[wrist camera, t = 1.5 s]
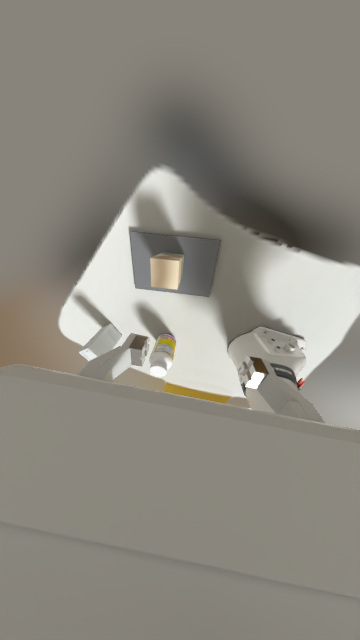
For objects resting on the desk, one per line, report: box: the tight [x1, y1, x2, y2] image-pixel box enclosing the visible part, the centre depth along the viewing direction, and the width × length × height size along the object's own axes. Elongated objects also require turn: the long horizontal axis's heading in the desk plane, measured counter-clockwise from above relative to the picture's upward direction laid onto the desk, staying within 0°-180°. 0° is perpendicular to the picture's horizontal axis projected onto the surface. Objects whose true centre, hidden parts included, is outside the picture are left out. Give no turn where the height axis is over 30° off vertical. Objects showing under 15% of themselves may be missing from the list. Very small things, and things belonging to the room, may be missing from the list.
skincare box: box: [79, 323, 122, 361], centre depth 42 cm, size 6×4×12 cm
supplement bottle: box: [149, 334, 176, 377], centre depth 41 cm, size 7×7×13 cm
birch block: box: [150, 252, 184, 290], centre depth 28 cm, size 5×5×10 cm
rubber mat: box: [130, 231, 221, 297], centre depth 33 cm, size 20×13×1 cm, turn 85°
